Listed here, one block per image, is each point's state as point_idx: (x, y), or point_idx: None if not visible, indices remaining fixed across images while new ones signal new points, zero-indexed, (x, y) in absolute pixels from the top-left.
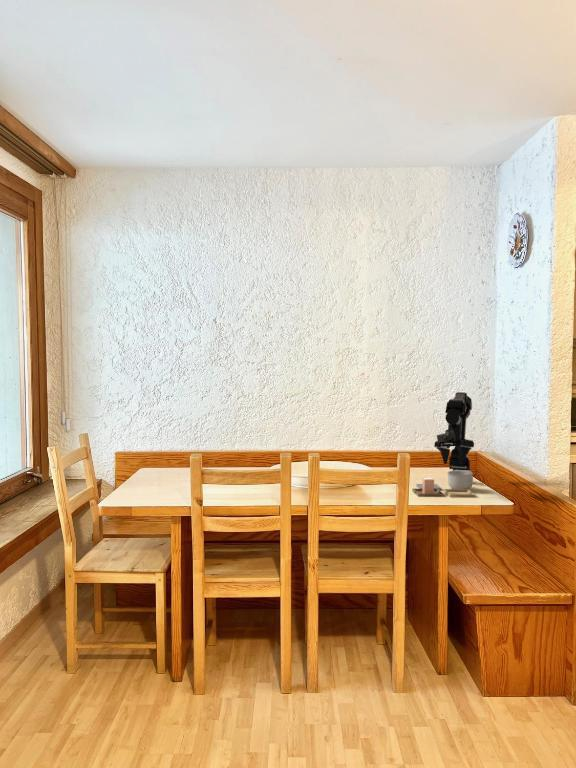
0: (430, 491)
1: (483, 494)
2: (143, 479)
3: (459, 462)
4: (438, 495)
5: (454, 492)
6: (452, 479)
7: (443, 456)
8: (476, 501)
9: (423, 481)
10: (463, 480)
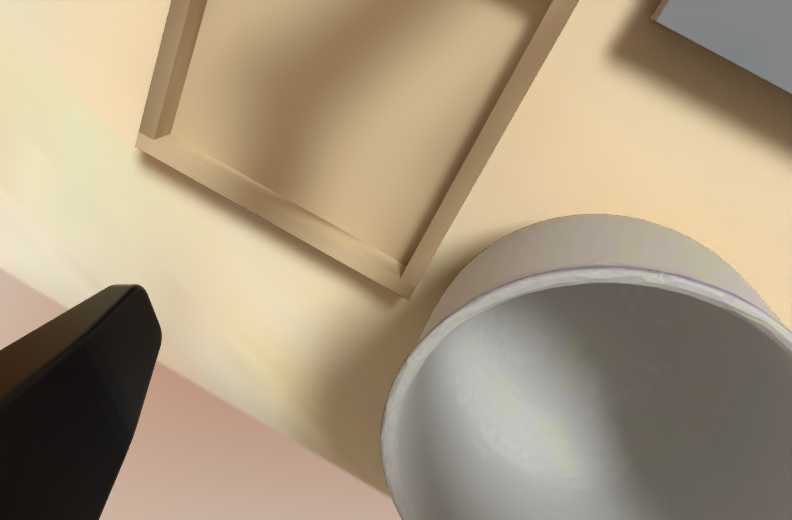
0: None
1: (292, 347)
2: None
3: (109, 295)
4: None
5: (449, 98)
6: (584, 241)
7: None
8: (47, 31)
9: None
10: (429, 321)
